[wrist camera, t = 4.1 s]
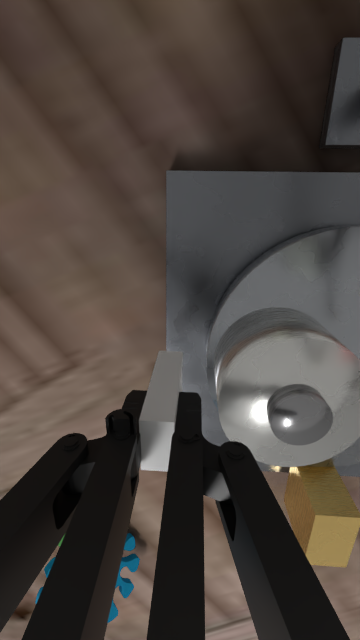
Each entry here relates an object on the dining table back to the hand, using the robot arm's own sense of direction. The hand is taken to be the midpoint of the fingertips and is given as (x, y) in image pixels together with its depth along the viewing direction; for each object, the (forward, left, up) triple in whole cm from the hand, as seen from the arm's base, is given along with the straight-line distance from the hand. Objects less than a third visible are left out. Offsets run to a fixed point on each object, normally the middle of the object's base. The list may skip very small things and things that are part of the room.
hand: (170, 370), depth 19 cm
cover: (+7, 0, -2) cm, 7 cm away
